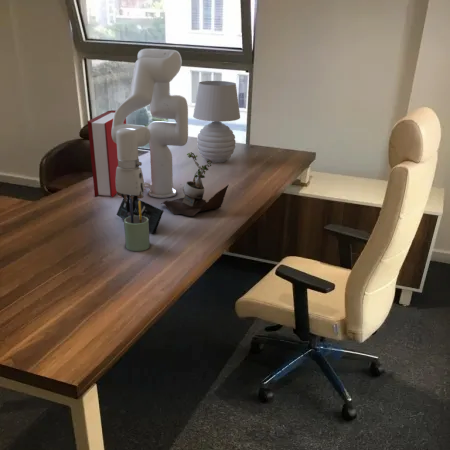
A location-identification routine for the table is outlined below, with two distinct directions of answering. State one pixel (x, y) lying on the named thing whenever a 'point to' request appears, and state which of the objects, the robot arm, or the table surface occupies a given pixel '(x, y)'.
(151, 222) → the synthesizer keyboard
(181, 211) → the potted plant
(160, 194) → the robot arm
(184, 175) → the table surface
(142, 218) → the pen cup
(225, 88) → the table lamp
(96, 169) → the book
